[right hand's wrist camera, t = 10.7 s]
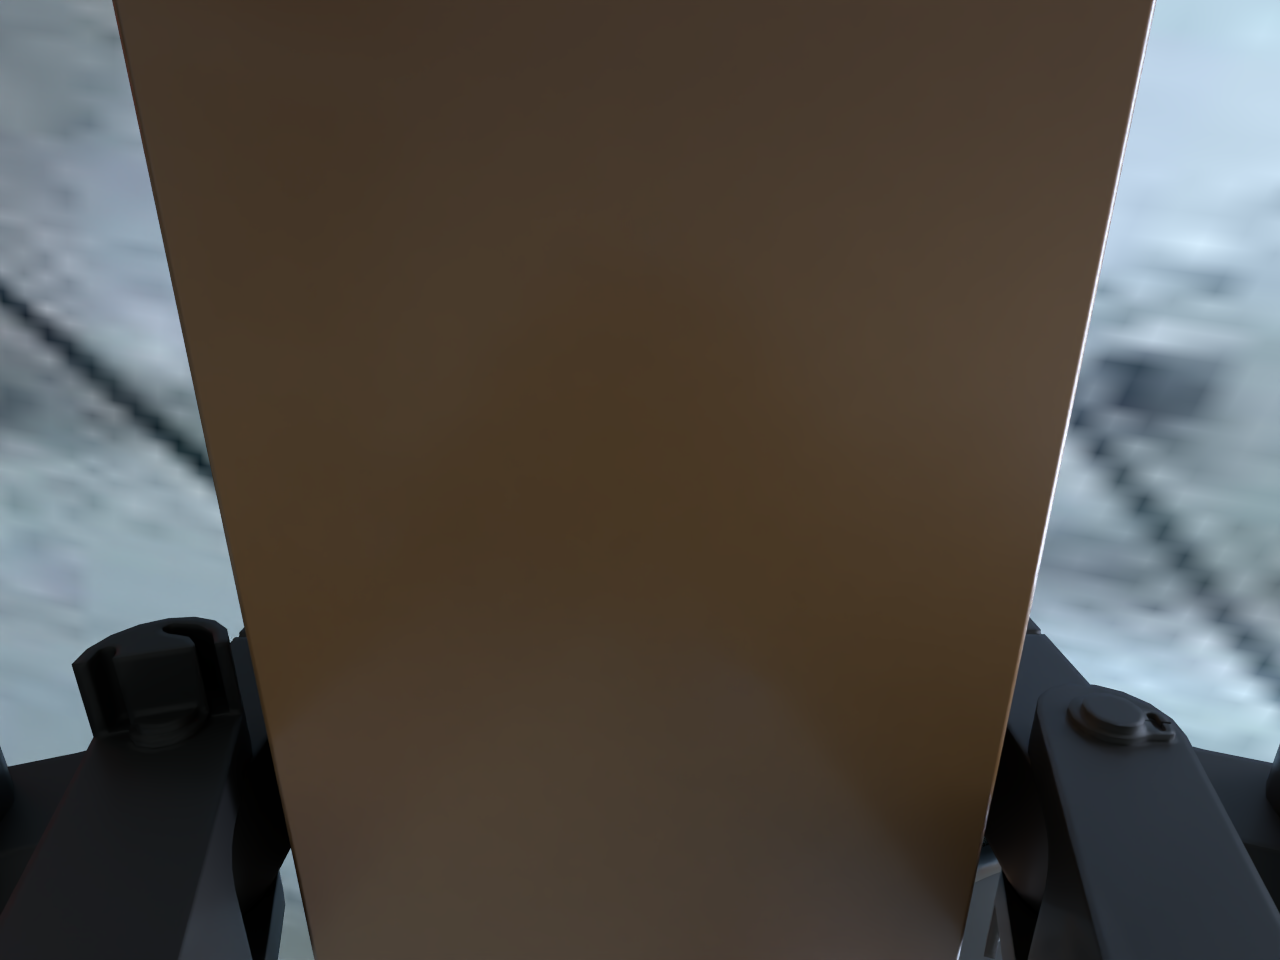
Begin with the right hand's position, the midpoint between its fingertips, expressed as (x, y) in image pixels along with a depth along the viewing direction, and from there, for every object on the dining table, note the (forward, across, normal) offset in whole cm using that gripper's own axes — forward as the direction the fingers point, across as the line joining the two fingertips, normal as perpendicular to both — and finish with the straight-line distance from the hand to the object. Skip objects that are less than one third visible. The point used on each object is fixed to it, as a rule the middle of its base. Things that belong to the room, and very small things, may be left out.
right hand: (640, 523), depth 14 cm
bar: (+1, 0, -8) cm, 8 cm away
